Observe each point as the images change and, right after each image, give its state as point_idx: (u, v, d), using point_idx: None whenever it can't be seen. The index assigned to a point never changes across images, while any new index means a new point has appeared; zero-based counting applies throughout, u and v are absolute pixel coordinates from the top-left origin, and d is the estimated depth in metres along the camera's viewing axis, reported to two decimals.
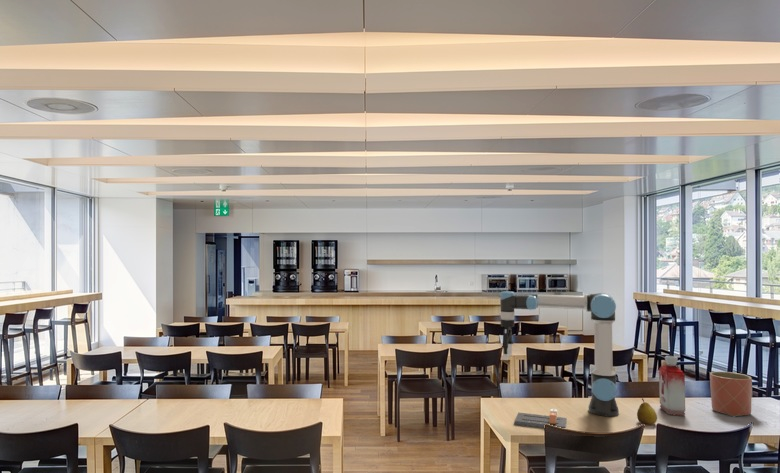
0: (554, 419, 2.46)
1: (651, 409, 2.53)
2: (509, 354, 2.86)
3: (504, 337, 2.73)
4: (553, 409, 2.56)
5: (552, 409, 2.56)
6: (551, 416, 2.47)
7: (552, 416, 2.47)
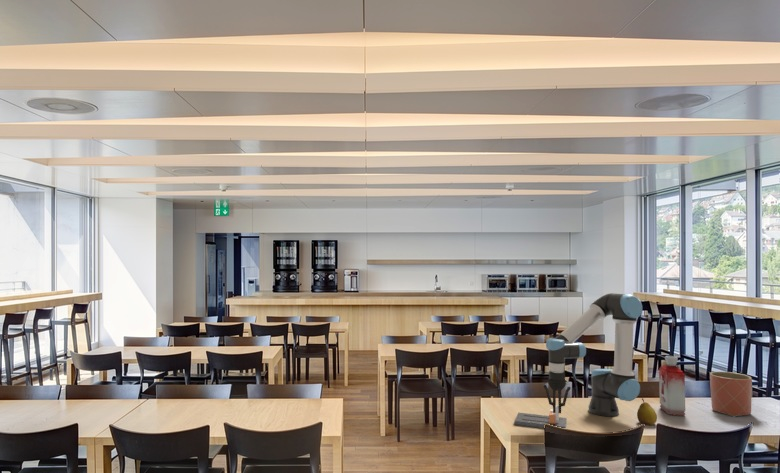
0: (554, 419, 2.46)
1: (651, 409, 2.53)
2: None
3: (547, 393, 2.50)
4: None
5: (552, 409, 2.56)
6: (551, 416, 2.47)
7: (552, 416, 2.47)
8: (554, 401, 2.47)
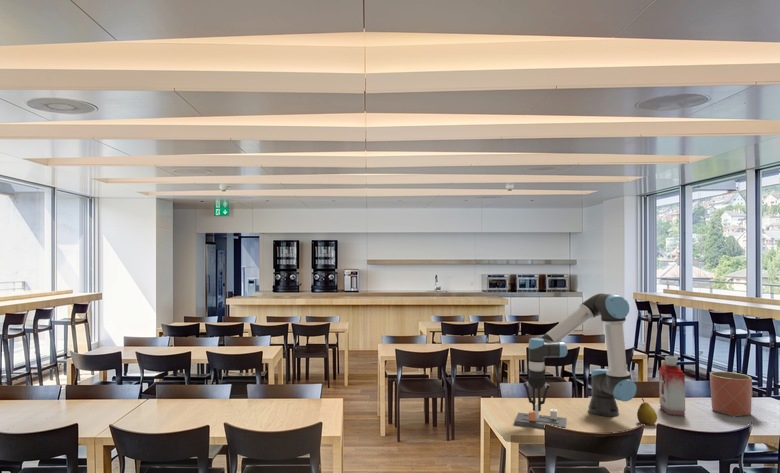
0: (533, 417, 2.50)
1: (651, 409, 2.53)
2: None
3: (527, 391, 2.54)
4: (553, 409, 2.56)
5: (552, 409, 2.56)
6: (530, 414, 2.50)
7: (531, 414, 2.50)
8: (534, 399, 2.51)
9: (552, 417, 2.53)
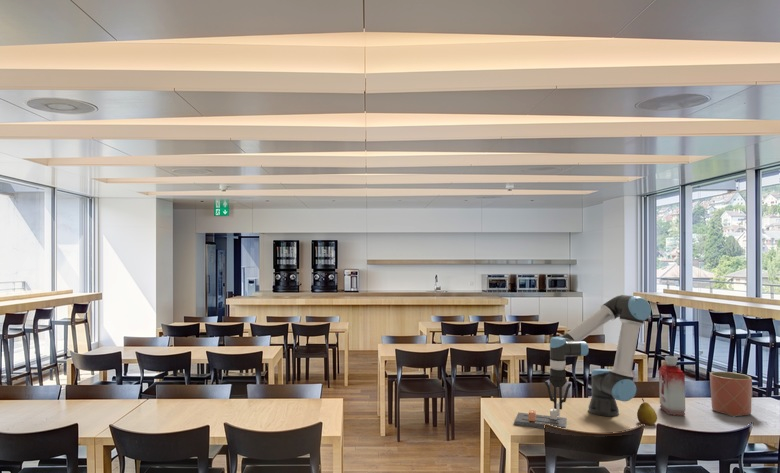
0: (533, 417, 2.50)
1: (651, 409, 2.53)
2: None
3: (548, 390, 2.57)
4: (553, 409, 2.56)
5: (552, 409, 2.56)
6: (530, 414, 2.50)
7: (531, 414, 2.50)
8: (555, 397, 2.54)
9: (552, 417, 2.53)
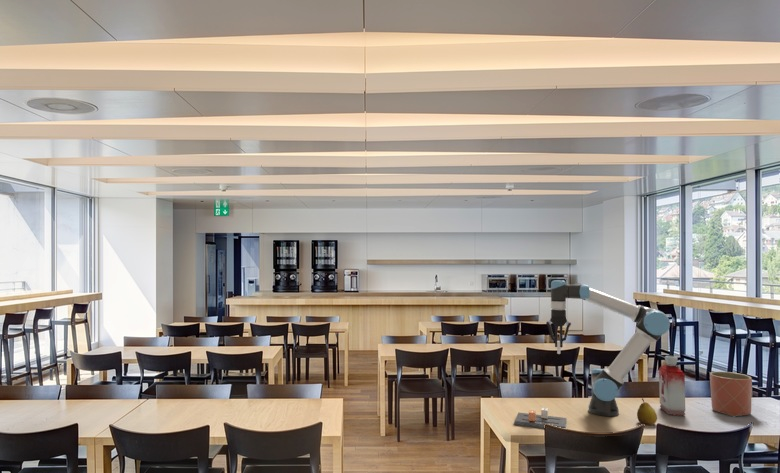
0: (533, 417, 2.50)
1: (651, 409, 2.53)
2: None
3: (549, 330, 2.72)
4: (544, 408, 2.58)
5: (543, 408, 2.58)
6: (530, 414, 2.50)
7: (531, 414, 2.50)
8: (556, 336, 2.69)
9: (543, 416, 2.55)
